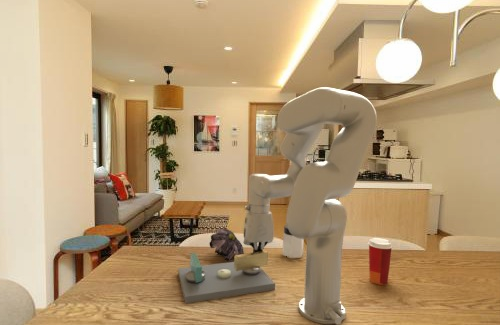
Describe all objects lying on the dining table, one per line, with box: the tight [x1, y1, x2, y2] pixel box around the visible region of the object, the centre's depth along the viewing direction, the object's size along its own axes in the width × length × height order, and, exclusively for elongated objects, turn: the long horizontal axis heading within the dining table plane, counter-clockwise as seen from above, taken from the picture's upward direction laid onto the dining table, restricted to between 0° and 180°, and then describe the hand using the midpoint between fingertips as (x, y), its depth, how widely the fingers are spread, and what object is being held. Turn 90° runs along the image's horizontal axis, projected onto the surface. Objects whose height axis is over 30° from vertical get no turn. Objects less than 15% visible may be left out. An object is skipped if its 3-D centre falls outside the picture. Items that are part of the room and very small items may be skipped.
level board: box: [177, 261, 276, 304], centre depth 98 cm, size 20×28×4 cm
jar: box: [282, 224, 305, 259], centre depth 123 cm, size 9×8×12 cm
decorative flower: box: [209, 228, 245, 262], centre depth 119 cm, size 15×12×15 cm
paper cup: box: [367, 237, 394, 286], centre depth 100 cm, size 8×8×14 cm
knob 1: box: [186, 252, 205, 283], centre depth 94 cm, size 12×6×6 cm, turn 19°
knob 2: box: [233, 250, 269, 275], centre depth 100 cm, size 12×6×6 cm, turn 117°
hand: (257, 259), depth 104 cm, fingers closed
